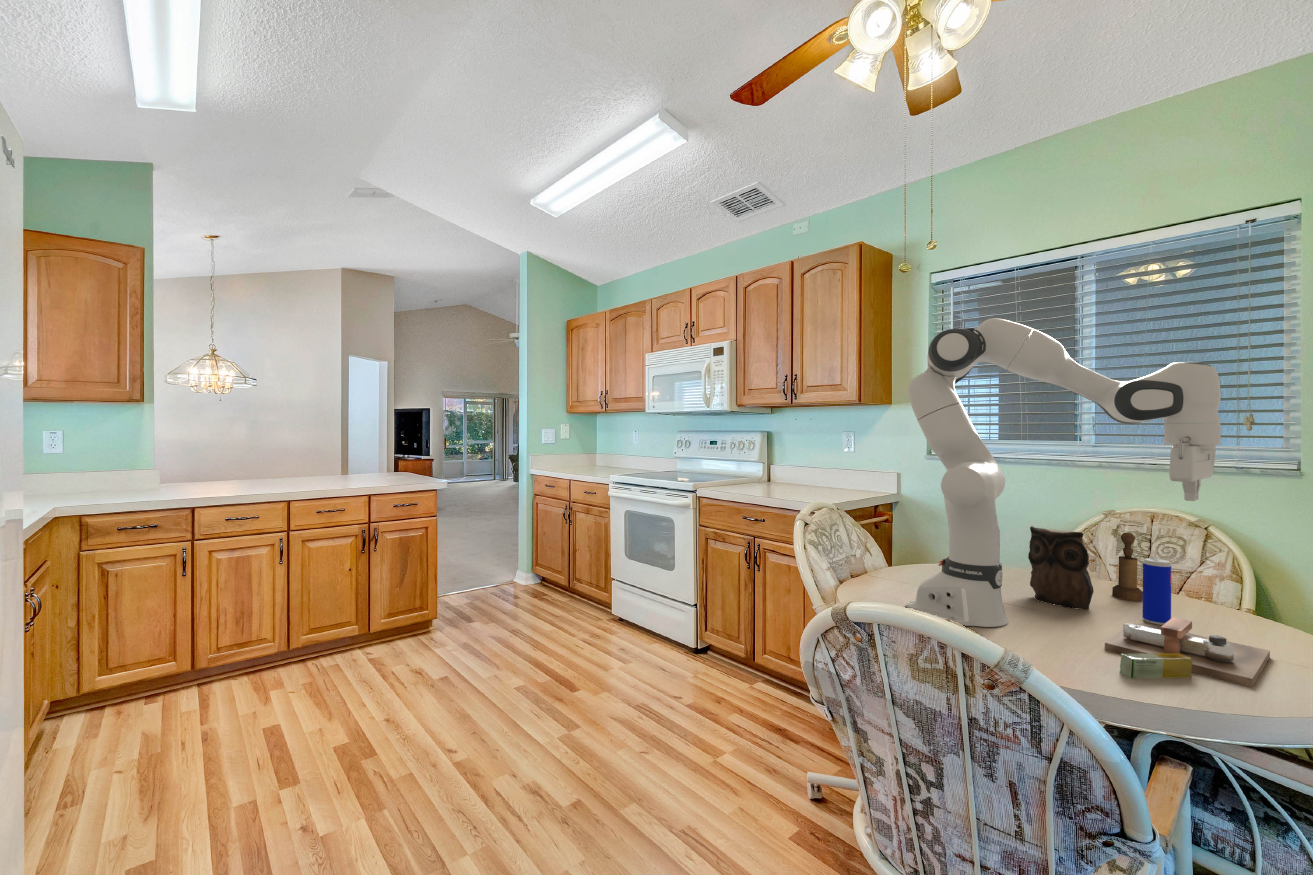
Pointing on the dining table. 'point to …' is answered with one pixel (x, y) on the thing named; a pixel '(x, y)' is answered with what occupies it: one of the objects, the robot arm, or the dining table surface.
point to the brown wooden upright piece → (1127, 573)
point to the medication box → (1156, 665)
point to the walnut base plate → (1237, 671)
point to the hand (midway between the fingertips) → (1191, 500)
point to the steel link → (1186, 642)
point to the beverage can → (1156, 591)
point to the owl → (1060, 568)
